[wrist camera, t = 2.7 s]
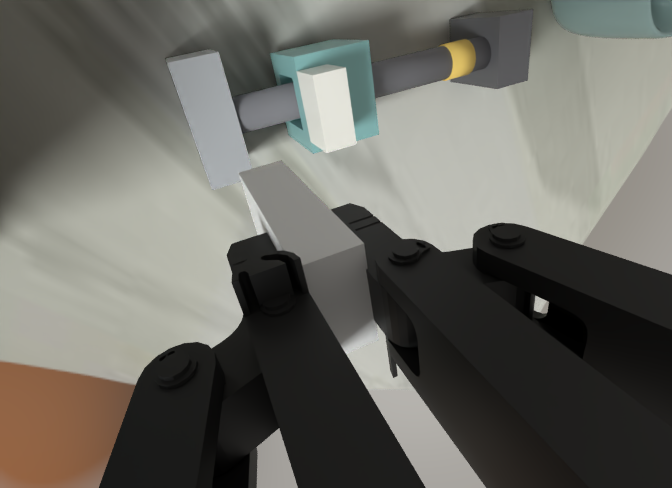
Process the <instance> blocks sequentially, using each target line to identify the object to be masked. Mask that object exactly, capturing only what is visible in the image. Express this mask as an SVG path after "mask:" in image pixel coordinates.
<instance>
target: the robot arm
mask: <svg viewBox="0 0 672 488" xmlns="http://www.w3.org/2000/svg"><path fill="white" fill-rule="evenodd" d="M239 176H240V180H241V183H242V186H243V189H244V192H245V196H246V199H247V202H248V205H249V208H250V212H251V215H252V218H253V221H254V225H255V228H256V231H257V234H258V235H257V236H254V237H251V238H248V239H245V240H242V241H239V242H236V243H233V244H231V246H230V249H229V251H228V253H227V258H228V261H229V264H230V267H231V271H232V285H233V287H234V290H235V293H236V295H237V298H238V301H239V303H240V306H241V309H242V311H243V314H244V315H243V318H242V321H241V323H240V324H239V326H238V328H237V329H236V330H235V331H234V332H233V333H232V334H231V335H230V336H229V337H228V338H226V339H225V340H224V341H222V342H221V343H219V344H218V345H216V346H215V347H213V348H212V349H211V348H210V347H209V346H208V345H206V344H202V343H199V342H194V343H184V344H181V345H178V346H175V347H172V348H170V349H168V350H166V351H165V352H163V353H162V354H160V355H158V356H157V357H156V358H154V359H153V360H152V361H151V362H150V363H149V364H148V365H147V366H146V367H145V368H144V370H143V372H142V374H141V375H140V377H139V379H138V381H137V384H136V386H135V389H134V392H133V395H132V397H131V400H130V403H129V406H128V409H127V411H126V414H125V417H124V420H123V422H122V425H121V428H120V431H119V433H118V436H117V439H116V442H115V444H114V448H113V450H112V453H111V456H110V458H109V461H108V464H107V467H106V469H105V472H104V475H103V478H102V481H101V483H100V486H99V488H256V484H257V448H256V447H257V446H258V445H259V444H260V443H262V442H263V441H264V440H265V439H267V438H268V437H269V436H270V435H271V434H272V433H274V432H275V431H276V430H277V429H278V428H280V431H281V434H282V438H283V441H284V444H285V447H286V451H287V453H288V457H289V460H290V463H291V467H292V470H293V473H294V476H295V479H296V483H297V486H298V488H425V486H424V484H423V482H422V481H421V479H420V478H419V476H418V474H417V472H416V471H415V469H414V467H413V466H412V464H411V463H410V461H409V459H408V458H407V456H406V454H405V452H404V451H403V449H402V447H401V446H400V444H399V442H398V441H397V439H396V437H395V436H394V434H393V432H392V430H391V429H390V427H389V425H388V424H387V422H386V420H385V419H384V417H383V415H382V414H381V412H380V410H379V409H378V407H377V405H376V404H375V402H374V400H373V399H372V397H371V395H370V394H369V392H368V390H367V389H366V387H365V385H364V383H363V382H362V380H361V378H360V377H359V375H358V373H357V372H356V370H355V368H354V367H353V365H352V363H351V362H350V360H349V358H348V357H347V355H346V354H347V353H350V352H352V351H354V350H357V349H359V348H361V347H364V346H366V345H368V344H371V343H373V342H375V341H378V340H379V338H378V332H377V325H376V323H377V324H378V326H379V327H380V328H381V330H382V331H383V332H384V333H385V335H386V343H387V350H388V357H389V364H390V370H391V373H392V376H393V378H394V377H396V376H398V375H397V367H396V364H397V365H398V366H399V368H400V369H401V370H402V372H403V373H404V375H405V376H406V377H407V379H408V380H409V382H410V383H411V384H412V386H413V387H414V388H415V390H416V391H417V393H418V394H419V395H420V397H421V398H422V399H423V401H424V402H425V404H426V405H427V406H428V407H429V409H430V411H431V412H432V413H433V415H434V416H435V417H436V419H437V420H438V422H439V423H440V424H441V426H442V427H443V428H444V430H445V431H446V433H447V434H448V435H449V437H450V438H451V440H452V441H453V442H454V444H455V445H456V446H457V448H458V449H459V451H460V452H461V453H462V455H463V456H464V457H465V459H466V460H467V462H468V463H469V464H470V466H471V467H472V469H473V470H474V471H475V473H476V474H477V475H478V477H479V478H480V479H481V481H482V482H483V484H484V485H485V486H486V488H672V275H671V274H668V273H665V272H662V271H659V270H656V269H653V268H650V267H647V266H643V265H641V264H638V263H634V262H632V261H629V260H626V259H623V258H619V257H617V256H614V255H610V254H608V253H605V252H601V251H599V250H595V249H592V248H589V247H587V246H584V245H580V244H577V243H574V242H571V241H568V240H565V239H562V238H559V237H556V236H553V235H550V234H547V233H544V232H541V231H538V230H535V229H532V228H529V227H526V226H522V225H518V224H512V223H497V224H492V225H488V226H485V227H483V228H480V229H479V230H478V231H477V232H476V233H475V234H474V237H473V248H469V249H463V250H456V251H450V252H441V251H440V250H439V249H437V248H436V247H435V246H433V245H432V244H430V243H428V242H426V241H422V240H417V239H401V238H400V237H399V236H398V235H397V234H395V233H394V232H393V231H392V230H391V229H389V228H388V227H387V226H386V225H385V224H383V223H382V222H380V220H379V219H377V218H376V217H375V216H374V217H373V214H371V213H370V212H369V211H368V210H367V209H365V208H364V207H361V206H357V205H354V204H351V203H349V204H346V205H343V206H340V207H337V208H334V209H331V210H330V209H329V208H328V207H327V206H326V205H325V204H324V203H323V202H322V201H321V200H320V199H319V198H318V197H317V196H316V195H315V194H314V193H313V192H312V191H311V190H310V189H309V188H308V187H307V186H306V185H305V184H304V182H303V181H302V180H301V179H300V178H299V177H298V176H297V175H296V174H295V173H294V172H293V171H292V170H291V169H290V168H289V167H288V166H287V165H286V164H285V163H284V162H283V161H282V160H281V161H277V162H274V163H271V164H267V165H264V166H260V167H257V168H253V169H250V170H246V171H243V172H240V173H239ZM535 295H536V296H538V297H540V298H542V299H544V300H546V301H549V306H548V312H547V314H542V313H539V312H536V311H534V303H535Z"/></svg>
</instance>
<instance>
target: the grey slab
mask: <svg viewBox="0 0 672 488" xmlns="http://www.w3.org/2000/svg"><path fill="white" fill-rule="evenodd" d="M165 59H166V62H167V65H168V68H169V71H170V73H171V76H172V79H173V82H174V85H175V87H176V90H177V93H178V96H179V99H180V102H181V104H182V107H183V110H184V113H185V116H186V118H187V121H188V124H189V127H190V130H191V132H192V135H193V138H194V141H195V144H196V146H197V149H198V152H199V155H200V158H201V161H202V163H203V166H204V169H205V172H206V174H207V177H208V180H209V183H210V185H211V188H212V190H214V189H218V188H221V187H225V186H228V185H231V184H235V183H238V182H241V180H240V176H239V173H240V172H243V171H246V170H250V169H252V166H251V162H250V159H249V155H248V152H247V148H246V145H245V141H244V138H243V135H242V131H241V128H240V124H239V121H238V117H237V114H236V110H235V107H234V103H233V100H232V97H231V93H230V90H229V86H228V83H227V79H226V76H225V72H224V69H223V66H222V62H221V59H220V55H219V52H217V51H213V50H209V49H208V50H203V51H198V52H193V53H189V54H184V55H179V56H174V57H170V58H165Z"/></svg>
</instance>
